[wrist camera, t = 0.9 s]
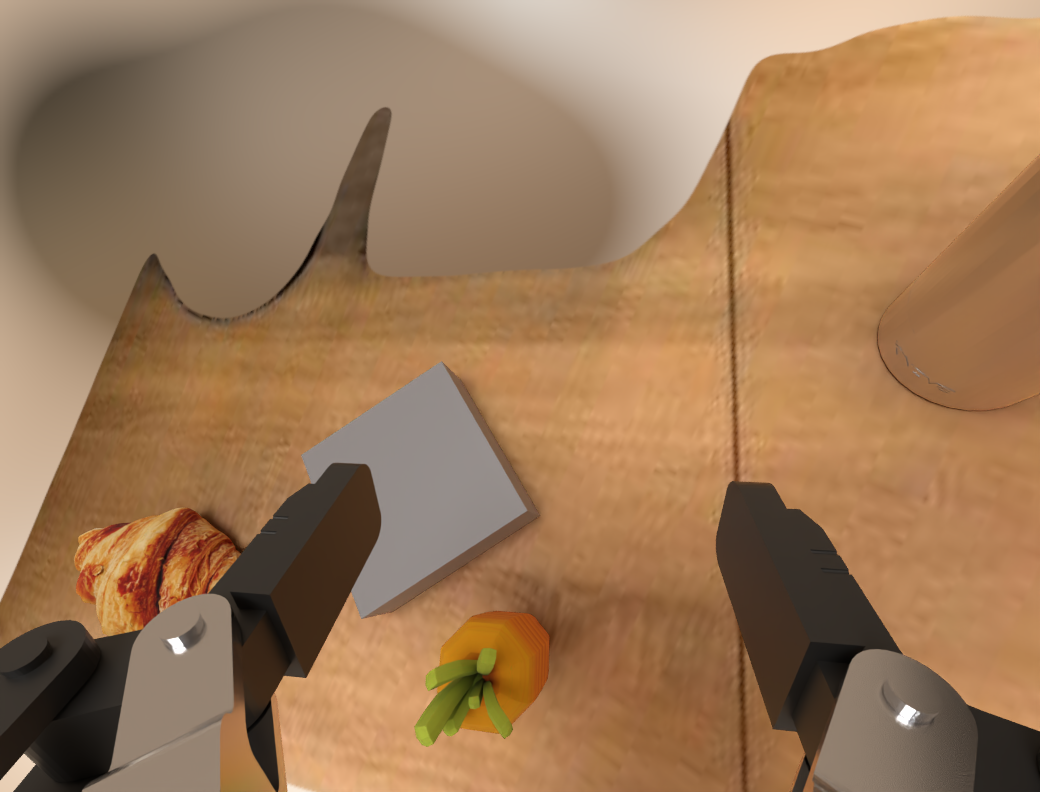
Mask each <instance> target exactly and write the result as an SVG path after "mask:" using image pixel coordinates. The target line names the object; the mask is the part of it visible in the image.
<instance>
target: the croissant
mask: <svg viewBox="0 0 1040 792" xmlns="http://www.w3.org/2000/svg"><path fill="white" fill-rule="evenodd" d="M78 539H79V544H80V546H79V548H78V550H77V552H76V554H75V558H74V562H75V566H76V569H77V570H78V571H81V573H80V575H79V578H78V581H77V584H76V593H77V594H79V595H80V596H81V597H82V598H81V599H82V601H83V602H85V603H90V604H96V612H97V616H98V619H99V621H100V623H101V625H102V631H103V634H106V635H107V636H113V635H117V634H122V633H127V632H132V631H137V630H141V629H143V628H144V627H145V626H146V625H147V624H148V623H149V622H150V621H151V620H152V619H153V618H154V617H156V616H157V615H158V614H159V613H161V612H162V611H164V610H165V609H167V608H168V607H170V606H172V605H173V604H175V603H177V602H179V601H182V600H184V599H186V598H189V597H192V596H196V595H201V594H208V593H209V592H210V590H211V589H212V588H213V587H214V586H215V585H216V583H217V582H218V581H219V580H220V579H221V577H222V576H223V575H224V574H225V573H226V571H227V570H228V569H229V568H230V567H231V565H232V564H233V563H234V562H235V561H236V559H237V558H238V557H239V556H240V555H241V553H239V552H238V551H237V550H236V549H235V546H234V544H233V542H232V541H231V540H230V538H228V537H227V536H226V535H225V534H224V533H222V532H220V531H218V530H217V529H216V528H214V527H213V526H212V525H211V524H210V523H208V522H207V521H206V520H205V519H204V518H202V517H201V516H200V515H199V514H198V513H196V512H195V511H193V510H191V509H189V508H186V507H185V508H176V509H173V510H170V511H168V512H166V513H163V514H161V515H157V516H149V517H146V518H142V519H139V520H136V521H134V522H132V523H121V524H115V525H111V526H107V527H105V528H95V529H93V530H91V531H89V532H86V533H84V534H82V535H81V536H79V537H78Z"/></svg>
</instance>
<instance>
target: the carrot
mask: <svg viewBox="0 0 1040 792" xmlns="http://www.w3.org/2000/svg"><path fill="white" fill-rule="evenodd" d="M548 671H549V634H548V633H547V632H546V631H545V629H544V628H543V627H542V626H541V625H540V623H539V622H538V621H537V620H536V618H535V617H534V616H532V615H531V614H527V613H516V612H503V611H493V612H487V613H482V614H479V615H475V616H472V617H471V618H470V619H469V620H468V621H467V622H466V623H465V624H464V625H463V626H462V627H461V628H460V629H459V630H458V631H457V632H456V633H455V634H454V635H453V636H452V637H451V638H450V639H449V640H448V641H447V642H446V643H445V644H444V645H443V646H442V648H441V654H440V666H439V667H437V668H435V669H433V670H432V671H430V672H429V673H428V674H427V675H426V687H427V689H428V691H429V690H432V689H434V688H437V687H438V689H437V693H438V694H437V695H436V696H435V698H434V699H433V700H432V702H431V703H430V704H429V706H428V707H427V708H426V710H425V711H424V712H423V714H422V716H421V717H420V719H419V720H418V722H417V724H416V725H415V727H414V728H415V732H416V737H417V739H418V740H419V741H420V743H421V744H422V745H424V746H426V747H428V746H430V745H432V744H434V742H435V741H436V739H437V737H438V736H439V734H440V733H441V731H442V729H443V731H444V733H445V734H446V735H447V736H453V735H454V734H455V733H457V732H458V730H459V728H463V729H470V730H477V731H484V732H490V733H497V734H501V735H502V737H503V738H504V739H505V738H506V737H508V736H509V735H510V734H511V732H512V730H513V728H512V724H513V723H514V722H515V721H516V720H517V718H518V717H519V716H520V715H521V714H522V713H523V712H524V711H525V710H526V709H527V708H528V707H529V706H530V705H531V704H532V703H533V702H534V701H535V700H536V698H537V696H538V695H539V693H540V692H541V690H542V688H543V686H544V685H545V683H546V681H547V679H548Z"/></svg>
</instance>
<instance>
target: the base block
mask: <svg viewBox="0 0 1040 792" xmlns="http://www.w3.org/2000/svg"><path fill="white" fill-rule="evenodd" d="M301 456H302V458H303V461H304V464H305V467H306V469H307V472H308V475H309V478H310V480H311V483H312V484H315V483H316V482H317V480H318V479H319V478H320V477H321V475H322V474H323V473H324V472H325V470H326V469H327V468H328V467H329V466H330V465H331V464H332V463H355V464H367V465H368V466H369V468H370V470H371V474H372V478H373V482H374V486H375V491H376V495H377V499H378V503H379V508H380V512H381V529H380V534H379V537H378V540H377V542H376V544H375V546H374V548H373V550H372V552H371V554H370V556H369V558H368V560H367V561H366V563H365V565H364V567H363V569H362V571H361V573H360V575H359V577H358V579H357V581H356V583H355V585H354V587H353V588H352V590H351V592H352V595H353V597H354V600H355V603H356V606H357V608H358V611H359V614H360V616H361V619H363V618H367V617H372V616H376V615H381V614H385V613H390V612H393V611H394V610H396V609H397V608H399V607H401V606H402V605H404V604H405V603H407V602H408V601H410V600H411V599H413V598H414V597H416V596H417V595H419V594H420V593H422V592H424V591H425V590H427V589H428V588H430V587H431V586H433V585H434V584H436V583H437V582H439V581H440V580H442V579H444V578H445V577H447V576H448V575H450V574H451V573H453V572H454V571H456V570H457V569H459V568H460V567H462V566H464V565H465V564H467V563H468V562H470V561H471V560H473V559H474V558H476V557H477V556H479V555H480V554H482V553H483V552H485V551H487V550H488V549H490V548H491V547H493V546H494V545H496V544H497V543H499V542H500V541H502V540H503V539H505V538H507V537H508V536H510V535H511V534H513V533H514V532H516V531H517V530H519V529H520V528H522V527H523V526H525V525H526V524H528V523H530V522H531V521H533V520H534V519H536V518H537V517H539V516H540V514H539V513H538V511H537V509H536V508H535V506H534V504H533V502H532V501H531V499H530V497H529V496H528V494H527V492H526V491H525V489H524V487H523V485H522V484H521V482H520V480H519V479H518V477H517V475H516V473H515V472H514V470H513V468H512V467H511V465H510V463H509V461H508V460H507V458H506V456H505V455H504V453H503V451H502V450H501V448H500V446H499V444H498V443H497V441H496V439H495V438H494V436H493V434H492V432H491V431H490V429H489V427H488V426H487V424H486V422H485V420H484V419H483V417H482V415H481V414H480V412H479V410H478V409H477V407H476V405H475V403H474V402H473V400H472V398H471V397H470V395H469V393H468V391H467V390H466V388H465V386H464V385H463V383H462V381H461V380H460V379H459V378H458V377H457V376H456V375H455V374H454V373H453V372H452V371H451V370H450V369H449V368H448V367H447V366H446V365H445V364H444V363H443V362H442V361H441V362H440V363H438V364H437V365H435V366H434V367H432V368H431V369H429V370H428V371H426V372H425V373H423V374H422V375H420V376H419V377H417V378H416V379H414V380H413V381H411V382H410V383H408V384H407V385H405V386H404V387H402V388H401V389H399V390H398V391H396V392H395V393H393V394H392V395H390V396H389V397H387V398H386V399H384V400H383V401H381V402H380V403H378V404H377V405H375V406H374V407H373V408H371V409H370V410H368V411H367V412H365V413H364V414H362V415H361V416H359V417H358V418H356V419H355V420H353V421H352V422H350V423H349V424H347V425H346V426H344V427H343V428H341V429H340V430H338V431H337V432H335V433H334V434H332V435H331V436H329V437H328V438H326V439H325V440H323V441H322V442H320V443H319V444H317V445H316V446H314V447H313V448H311V449H310V450H308V451H307V452H305V453H304V454H302V455H301Z"/></svg>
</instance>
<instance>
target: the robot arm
mask: <svg viewBox="0 0 1040 792" xmlns="http://www.w3.org/2000/svg"><path fill="white" fill-rule="evenodd" d="M878 346H879V349H880V353H881V356H882V359H883V360H884V362H885V364H886V365H887V367H888V369H889V371H890V372H891V373H892V374H893V375H894V376H895V377H896V378H897V379H898V380H899V382H900V383H902V384H903V385H904V386H906V387H907V388H908V389H910V390H911V391H912V392H914V393H915V394H917V395H919V396H921V397H923V398H925V399H927V400H929V401H931V402H934V403H937V404H940V405H943V406H946V407H950V408H956V409H962V410H992V409H998V408H1004V407H1007V406H1010V405H1012V404H1015V403H1018V402H1020V401H1023V400H1025V399H1028V398H1030V397H1033V396H1035V395H1038V394H1040V154H1039V155H1038V156H1037V157H1036V158H1035V159H1034V160H1033V161H1032V162H1031V163H1030V164H1029V165H1028V166H1027V167H1026V168H1025V169H1024V170H1023V171H1022V172H1021V173H1020V174H1019V175H1018V176H1017V177H1016V178H1015V179H1014V180H1013V182H1012V183H1011V184H1010V185H1009V186H1008V187H1007V188H1006V189H1005V190H1004V191H1003V192H1002V193H1001V194H1000V195H999V196H998V197H997V198H996V199H995V200H994V201H993V202H992V203H991V204H990V205H989V206H988V207H987V208H986V209H985V210H984V211H983V212H982V213H981V214H980V215H979V216H978V217H977V218H976V219H975V220H974V221H973V222H972V223H971V224H970V225H969V226H968V227H967V228H966V229H965V230H964V231H963V232H962V233H961V234H960V235H959V236H958V237H957V238H956V239H955V240H954V241H953V242H952V243H951V244H950V245H949V246H948V247H947V248H946V249H945V250H944V251H943V252H942V253H941V254H940V255H939V256H938V257H937V258H936V259H935V260H934V261H933V262H932V263H931V264H930V266H929V267H928V268H927V269H925V270H924V271H923V272H922V273H921V274H920V275H919V276H918V277H917V278H916V279H915V280H914V282H913V283H912V284H911V285H910V286H909V287H908V288H907V289H906V290H905V291H904V292H903V293H902V294H901V295H900V296H899V297H898V298H897V299H896V300H895V301H894V302H893V303H892V304H891V305H890V306H889V307H888V308H887V310H886V312H885V313H884V315H883V317H882V318H881V321H880V325H879V329H878ZM380 529H381V512H380V508H379V503H378V499H377V495H376V491H375V486H374V482H373V478H372V474H371V470H370V468H369V466H368V465H367V464H355V463H332V464H331V465H330V466H329V467H328V468H327V469H326V470H325V472H324V473H323V474H322V475H321V477H320V478H319V479H318V480H317V482H316V483H315V484H307V485H306V486H304V487H303V488H302V489H300V490H299V491H297V492H296V493H294V494H293V495H292V496H290V497H289V498H287V500H286V501H285V502H284V503H283V504H282V506H281V507H280V508H279V509H278V510H277V512H276V513H275V514H274V515H273V519H270V520H269V521H268V522H267V524H266V525H265V526H264V527H263V528H262V530H261V533H260V534H257V536H256V537H255V538H254V539H253V540H252V542H251V543H250V544H249V545H248V546H247V547H246V549H245V550H244V551H243V552H242V553H241V555H240V556H239V557H238V558H237V559H236V561H235V562H234V563H233V564H232V565H231V567H230V568H229V569H228V570H227V571H226V573H225V574H224V575H223V576H222V577H221V579H220V580H219V581H218V582H217V583H216V585H215V586H214V587H213V588H212V589H211V590H210V592H209V593H208V594H201V595H196V596H192V597H189V598H186V599H184V600H182V601H179V602H177V603H175V604H173V605H172V606H170V607H168V608H167V609H165V610H164V611H162V612H161V613H159V614H158V615H157V616H156V617H154V618H153V619H152V620H151V621H150V622H149V623H148V624H147V625H146V626H145V627H144V628H143V629H141V630H137V631H132V632H127V633H122V634H117V635H113V636H108V637H103V638H98V639H93V638H92V636H91V635H90V634H89V632H88V631H87V630H86V628H85V627H84V626H83V625H82V624H81V623H79V622H77V621H71V620H65V621H58V622H53V623H49V624H46V625H43V626H40V627H38V628H35V629H33V630H31V631H29V632H27V633H25V634H23V635H21V636H19V637H17V638H16V639H14V640H12V641H11V642H9V643H8V644H6V645H5V646H3V647H2V648H1V649H0V780H1V779H2V778H3V776H4V775H5V774H6V773H7V772H8V771H9V770H10V768H11V767H12V766H13V765H14V764H15V763H16V762H17V760H18V759H19V758H20V757H21V756H22V755H23V754H25V755H27V757H29V758H30V759H31V760H32V761H33V762H34V763H35V764H36V765H35V766H34V767H33V769H32V770H31V771H30V773H28V775H27V776H26V777H25V779H23V781H22V782H21V783H20V785H18V787H17V788H16V789H15V790H14V791H13V792H287V783H286V774H285V765H284V756H283V747H282V738H281V729H280V720H279V712H278V703H277V698H276V695H275V693H274V692H275V690H276V689H277V687H278V685H279V683H280V681H281V680H282V678H283V676H292V677H302V678H306V677H307V675H308V673H309V672H310V670H311V668H312V666H313V664H314V662H315V660H316V658H317V656H318V654H319V652H320V650H321V648H322V646H323V644H324V643H325V641H326V639H327V637H328V635H329V633H330V631H331V629H332V627H333V625H334V623H335V621H336V619H337V617H338V616H339V614H340V612H341V610H342V608H343V606H344V604H345V602H346V600H347V598H348V596H349V594H350V592H351V590H352V588H353V587H354V585H355V583H356V581H357V579H358V577H359V575H360V573H361V571H362V569H363V567H364V565H365V563H366V561H367V560H368V558H369V556H370V554H371V552H372V550H373V548H374V546H375V544H376V542H377V540H378V537H379V534H380ZM716 553H717V560H718V564H719V567H720V570H721V573H722V576H723V579H724V582H725V585H726V588H727V591H728V594H729V597H730V600H731V603H732V606H733V609H734V613H735V616H736V619H737V622H738V625H739V628H740V631H741V634H742V637H743V640H744V643H745V646H746V649H747V652H748V655H749V658H750V661H751V664H752V667H753V670H754V673H755V676H756V679H757V682H758V685H759V688H760V691H761V694H762V697H763V700H764V703H765V706H766V709H767V712H768V715H769V718H770V721H771V724H772V727H773V729H777V730H786V731H796V732H798V735H799V738H800V740H801V743H802V746H803V748H804V751H805V753H804V755H803V757H802V759H801V761H800V764H799V767H798V770H797V772H796V775H795V778H794V781H793V783H792V786H791V789H790V792H1040V731H1037V730H1034V729H1031V728H1029V727H1026V726H1023V725H1020V724H1017V723H1015V722H1012V721H1009V720H1006V719H1003V718H1001V717H998V716H995V715H992V714H989V713H987V712H984V711H981V710H979V709H976V708H974V707H971V706H969V705H967V704H966V703H965V701H964V700H963V699H962V698H961V696H960V695H959V694H958V693H957V692H956V691H955V690H954V689H953V688H952V687H951V686H950V685H949V684H948V683H947V682H946V681H945V680H944V679H943V678H941V677H940V676H939V675H938V674H936V673H935V672H934V671H932V670H931V669H929V668H928V667H926V666H925V665H923V664H921V663H919V662H918V661H916V660H914V659H911V658H909V657H907V656H905V655H903V654H902V652H901V651H900V650H899V648H898V647H897V645H896V643H895V642H894V640H893V639H892V637H891V636H890V634H889V632H888V631H887V629H886V628H885V626H884V625H883V623H882V621H881V620H880V618H879V617H878V615H877V614H876V612H875V610H874V609H873V607H872V606H871V604H870V603H869V601H868V599H867V598H866V596H865V595H864V593H863V592H862V590H861V588H860V587H859V585H858V584H857V582H856V580H855V579H854V577H853V576H852V575H849V572H848V571H849V569H848V568H847V566H846V565H845V563H844V562H843V560H842V558H841V557H840V555H837V551H836V549H835V547H834V546H833V544H832V543H831V541H830V540H829V538H828V536H827V535H826V533H825V532H824V530H823V529H822V528H821V527H820V526H819V525H818V524H816V523H815V522H814V521H813V520H812V519H810V518H809V517H808V516H807V515H806V514H804V513H803V512H802V511H801V510H800V509H787V508H786V507H785V505H784V503H783V501H782V500H781V498H780V496H779V494H778V493H777V491H776V489H775V488H774V486H773V485H772V484H770V483H758V482H736V481H732V482H730V484H729V485H728V488H727V492H726V496H725V500H724V505H723V509H722V513H721V518H720V522H719V526H718V531H717V536H716Z"/></svg>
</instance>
